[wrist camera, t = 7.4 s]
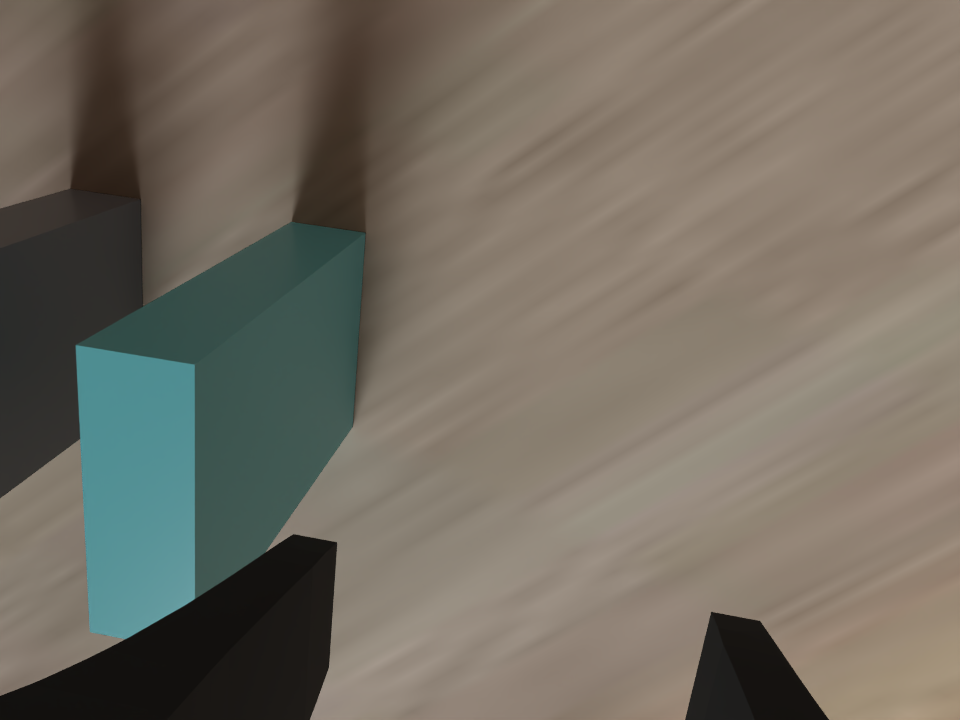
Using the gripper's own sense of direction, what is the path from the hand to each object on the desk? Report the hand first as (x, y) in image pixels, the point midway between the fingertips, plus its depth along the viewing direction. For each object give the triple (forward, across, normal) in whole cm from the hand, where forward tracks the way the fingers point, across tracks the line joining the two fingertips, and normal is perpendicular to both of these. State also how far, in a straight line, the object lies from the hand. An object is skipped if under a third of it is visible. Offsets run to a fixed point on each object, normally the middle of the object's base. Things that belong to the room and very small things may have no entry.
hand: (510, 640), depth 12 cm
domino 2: (+10, +6, 0) cm, 12 cm away
